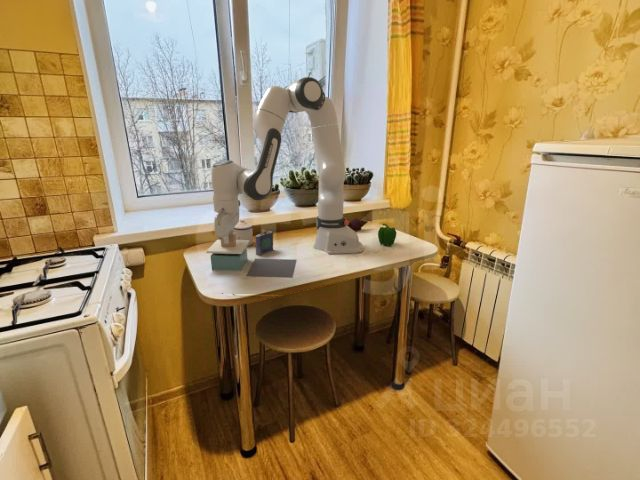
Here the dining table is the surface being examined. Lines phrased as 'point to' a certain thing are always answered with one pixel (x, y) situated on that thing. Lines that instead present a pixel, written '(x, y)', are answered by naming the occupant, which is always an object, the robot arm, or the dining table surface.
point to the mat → (272, 268)
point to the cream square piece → (229, 246)
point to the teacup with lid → (244, 231)
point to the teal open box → (228, 261)
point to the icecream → (356, 224)
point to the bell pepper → (386, 235)
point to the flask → (264, 242)
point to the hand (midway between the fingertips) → (228, 241)
